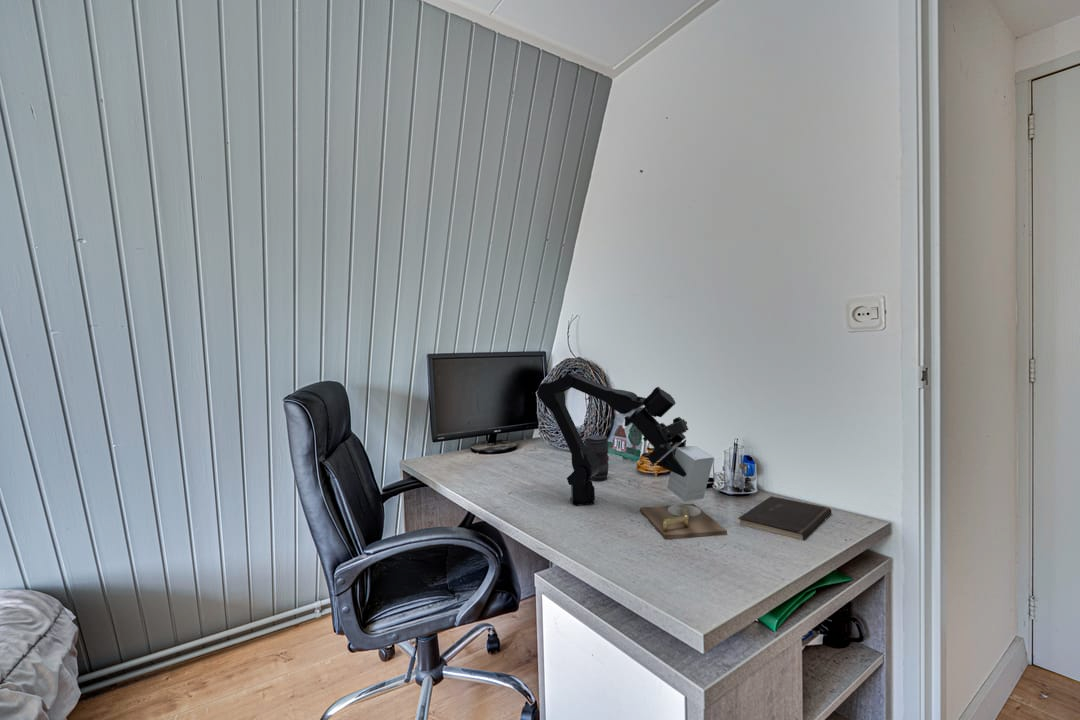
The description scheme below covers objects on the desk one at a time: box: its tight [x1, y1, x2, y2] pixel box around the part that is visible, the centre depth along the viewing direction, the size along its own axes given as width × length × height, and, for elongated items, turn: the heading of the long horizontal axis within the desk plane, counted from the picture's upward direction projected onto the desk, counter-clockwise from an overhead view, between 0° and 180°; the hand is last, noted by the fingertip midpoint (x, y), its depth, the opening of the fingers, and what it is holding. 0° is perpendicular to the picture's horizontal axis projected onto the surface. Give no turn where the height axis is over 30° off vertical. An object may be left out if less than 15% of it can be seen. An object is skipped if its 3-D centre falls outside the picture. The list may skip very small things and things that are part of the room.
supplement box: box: [666, 445, 715, 502], centre depth 133 cm, size 7×7×13 cm
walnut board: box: [639, 503, 728, 540], centre depth 132 cm, size 16×20×1 cm
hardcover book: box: [737, 495, 832, 541], centre depth 132 cm, size 16×23×2 cm
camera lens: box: [584, 434, 609, 482], centre depth 174 cm, size 8×8×15 cm
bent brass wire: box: [663, 508, 689, 532], centre depth 127 cm, size 12×4×3 cm, turn 137°
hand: (689, 471), depth 134 cm, fingers closed on supplement box, 9 cm apart
